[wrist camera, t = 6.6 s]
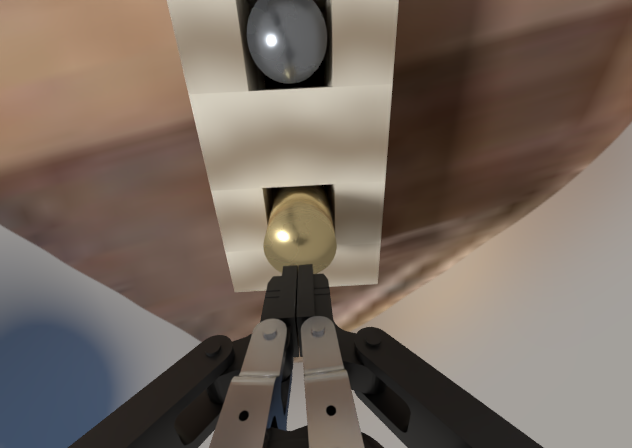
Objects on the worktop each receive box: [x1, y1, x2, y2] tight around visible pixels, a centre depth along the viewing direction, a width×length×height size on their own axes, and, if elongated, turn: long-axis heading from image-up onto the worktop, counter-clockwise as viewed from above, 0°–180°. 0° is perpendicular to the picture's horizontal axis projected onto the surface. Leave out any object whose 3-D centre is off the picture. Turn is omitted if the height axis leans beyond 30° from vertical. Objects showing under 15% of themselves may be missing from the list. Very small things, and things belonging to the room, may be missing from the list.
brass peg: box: [263, 185, 337, 274], centre depth 20 cm, size 4×4×7 cm
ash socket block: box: [167, 0, 399, 292], centre depth 21 cm, size 24×12×8 cm, turn 3°
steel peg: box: [247, 0, 327, 83], centre depth 18 cm, size 4×4×7 cm
